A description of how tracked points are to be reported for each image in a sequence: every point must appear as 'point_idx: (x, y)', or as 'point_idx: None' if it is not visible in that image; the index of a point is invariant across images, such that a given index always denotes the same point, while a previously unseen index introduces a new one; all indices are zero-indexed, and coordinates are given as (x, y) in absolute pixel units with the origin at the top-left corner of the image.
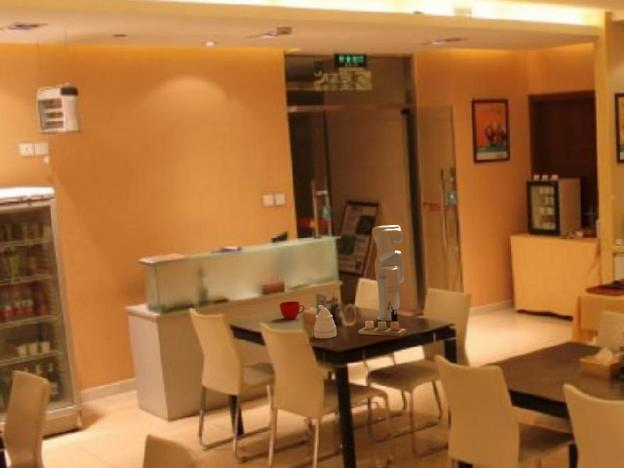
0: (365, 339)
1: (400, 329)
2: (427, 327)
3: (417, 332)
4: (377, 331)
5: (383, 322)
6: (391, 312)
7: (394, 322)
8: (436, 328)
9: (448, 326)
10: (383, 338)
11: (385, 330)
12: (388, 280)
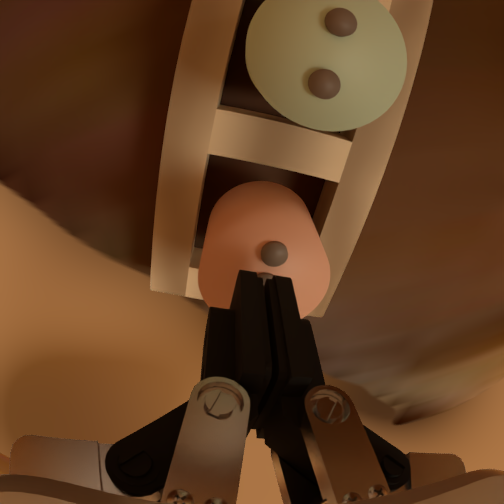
0: (4, 4)
1: None
2: (431, 368)
3: None
4: (188, 18)
5: (309, 86)
6: (152, 443)
7: None
8: (389, 404)
9: (411, 422)
10: (44, 147)
11: None
12: None
